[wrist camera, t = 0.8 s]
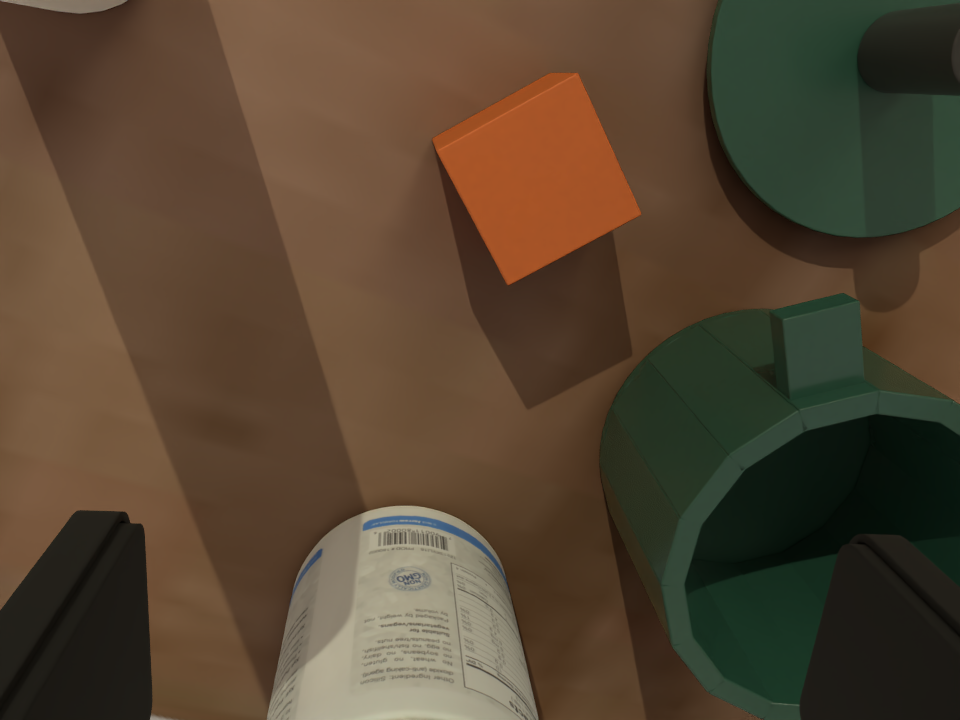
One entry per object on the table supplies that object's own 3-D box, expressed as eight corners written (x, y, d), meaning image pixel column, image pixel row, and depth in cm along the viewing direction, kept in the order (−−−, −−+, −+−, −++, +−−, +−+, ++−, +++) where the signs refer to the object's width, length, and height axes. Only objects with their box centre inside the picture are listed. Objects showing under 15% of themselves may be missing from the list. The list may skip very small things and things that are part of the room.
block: (550, 72, 30) (577, 72, 25) (607, 193, 31) (642, 214, 27) (431, 138, 30) (436, 150, 26) (492, 254, 32) (508, 286, 27)
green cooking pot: (868, 213, 33) (1042, 265, 24) (889, 580, 39) (1033, 732, 30) (563, 286, 33) (622, 367, 24) (633, 643, 39) (701, 815, 30)
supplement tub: (382, 709, 39) (369, 1062, 25) (248, 576, 36) (150, 894, 22) (549, 601, 37) (633, 909, 24) (426, 453, 34) (440, 708, 21)
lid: (1056, -197, 28) (1239, -273, 22) (1048, 188, 33) (1197, 215, 27) (677, -106, 28) (753, -157, 22) (723, 267, 33) (796, 313, 27)
